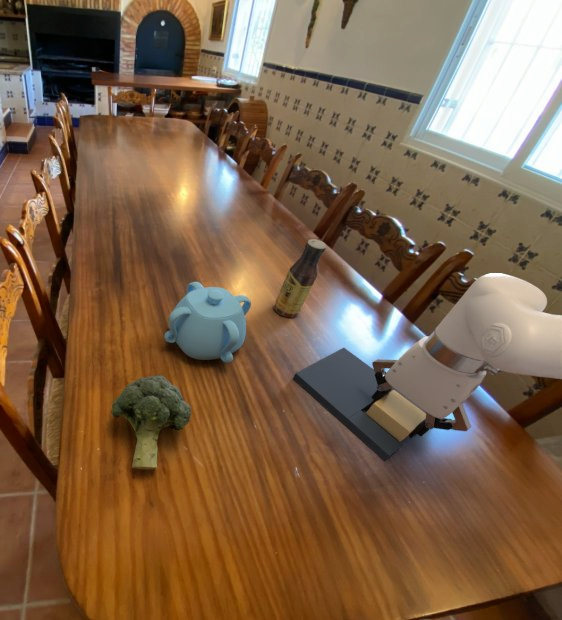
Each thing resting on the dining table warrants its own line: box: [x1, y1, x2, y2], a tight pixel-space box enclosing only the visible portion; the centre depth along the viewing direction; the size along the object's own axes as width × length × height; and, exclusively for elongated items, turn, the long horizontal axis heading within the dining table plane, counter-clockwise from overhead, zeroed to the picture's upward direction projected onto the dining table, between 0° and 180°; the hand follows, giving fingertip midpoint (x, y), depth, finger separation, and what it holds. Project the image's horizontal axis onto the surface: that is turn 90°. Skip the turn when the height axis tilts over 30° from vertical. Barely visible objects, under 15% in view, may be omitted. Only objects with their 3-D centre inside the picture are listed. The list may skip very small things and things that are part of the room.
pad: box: [365, 390, 426, 443], centre depth 65 cm, size 7×7×3 cm
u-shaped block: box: [292, 347, 426, 462], centre depth 70 cm, size 20×16×2 cm
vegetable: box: [110, 374, 192, 470], centre depth 58 cm, size 12×13×15 cm
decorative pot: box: [163, 281, 252, 364], centre depth 76 cm, size 16×16×14 cm
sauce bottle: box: [273, 238, 327, 318], centre depth 84 cm, size 7×6×20 cm
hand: (394, 417), depth 65 cm, fingers closed on pad, 6 cm apart
